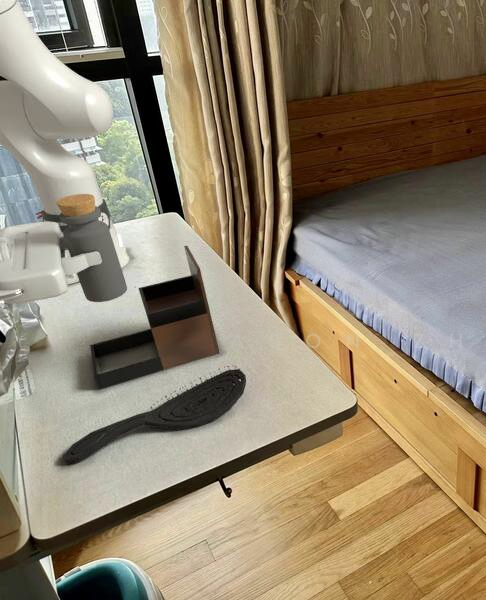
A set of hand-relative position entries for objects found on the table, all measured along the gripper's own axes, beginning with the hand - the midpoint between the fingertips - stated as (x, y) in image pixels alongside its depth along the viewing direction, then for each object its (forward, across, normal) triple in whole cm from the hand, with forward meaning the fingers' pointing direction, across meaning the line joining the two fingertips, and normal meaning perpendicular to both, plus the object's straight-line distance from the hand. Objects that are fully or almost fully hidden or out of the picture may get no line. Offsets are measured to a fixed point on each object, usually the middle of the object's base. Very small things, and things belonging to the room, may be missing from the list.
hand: (98, 246), depth 80 cm
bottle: (-1, 0, +8) cm, 8 cm away
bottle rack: (+3, 0, +21) cm, 21 cm away
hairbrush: (+1, -18, +21) cm, 28 cm away
